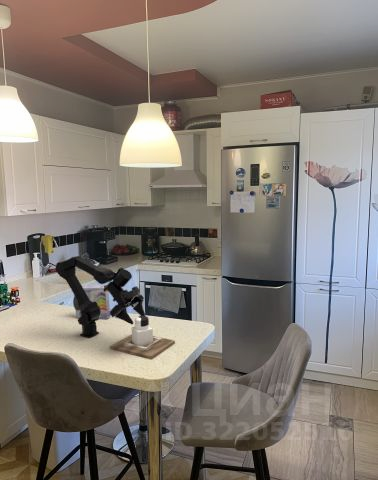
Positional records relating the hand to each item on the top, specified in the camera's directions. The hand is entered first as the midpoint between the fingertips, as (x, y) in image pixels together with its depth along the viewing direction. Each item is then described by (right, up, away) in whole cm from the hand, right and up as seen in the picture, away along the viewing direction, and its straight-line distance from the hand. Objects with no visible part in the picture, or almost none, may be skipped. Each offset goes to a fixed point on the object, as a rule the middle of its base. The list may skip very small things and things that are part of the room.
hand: (138, 320), depth 167 cm
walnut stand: (+2, -11, +1) cm, 12 cm away
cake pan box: (-30, -7, +39) cm, 50 cm away
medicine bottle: (+2, -10, +1) cm, 11 cm away
